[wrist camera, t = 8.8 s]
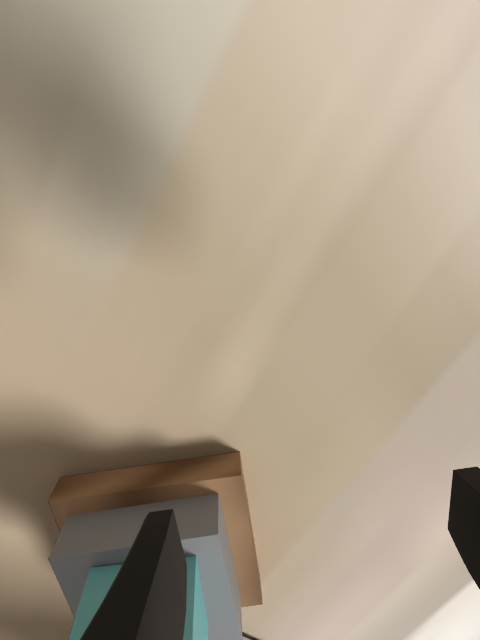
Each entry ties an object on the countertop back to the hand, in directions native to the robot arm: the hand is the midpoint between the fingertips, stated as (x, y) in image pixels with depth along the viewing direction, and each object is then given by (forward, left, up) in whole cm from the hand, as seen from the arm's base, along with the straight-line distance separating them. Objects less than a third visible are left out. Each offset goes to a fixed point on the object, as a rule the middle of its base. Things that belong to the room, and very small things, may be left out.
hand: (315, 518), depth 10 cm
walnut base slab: (-3, +13, -11) cm, 17 cm away
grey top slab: (-3, +13, -9) cm, 16 cm away
